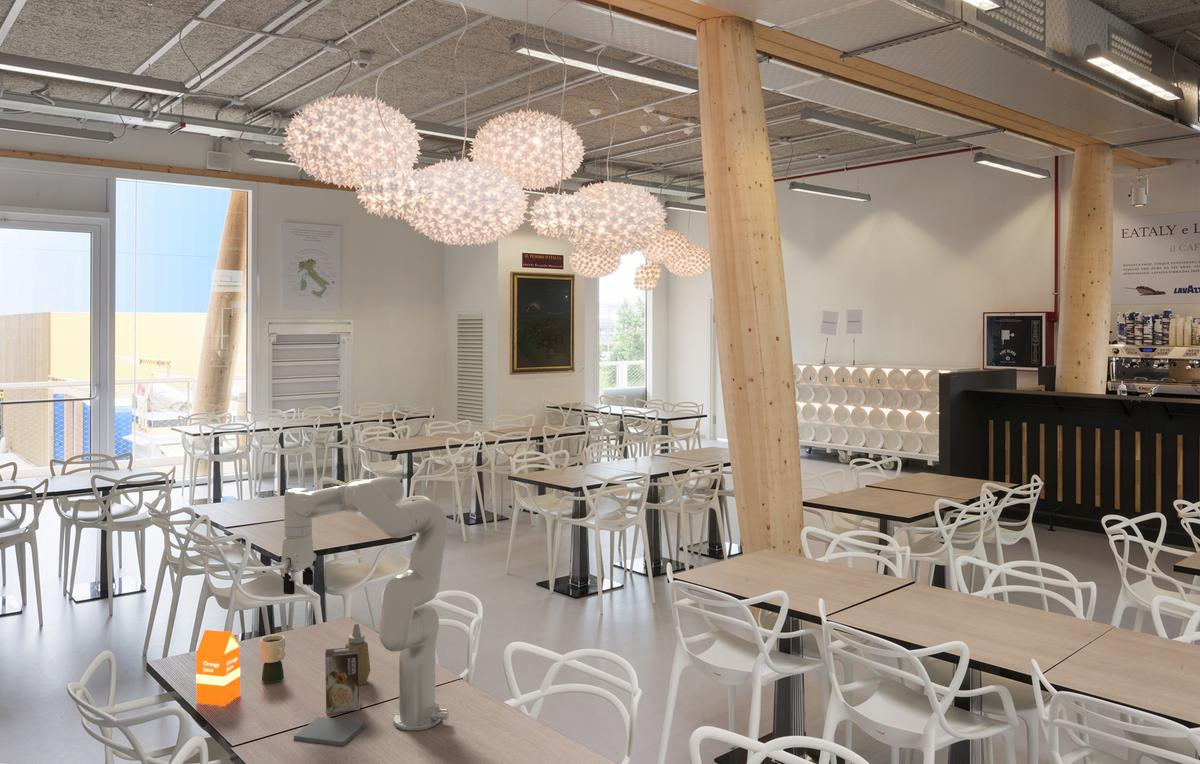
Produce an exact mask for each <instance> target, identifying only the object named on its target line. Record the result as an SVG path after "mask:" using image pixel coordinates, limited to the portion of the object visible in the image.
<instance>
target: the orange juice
mask: <svg viewBox="0 0 1200 764" xmlns="http://www.w3.org/2000/svg"><path fill="white" fill-rule="evenodd" d="M199 642H200V643H199V645H198V649H197V651H196V653H195V656H196V657H195V660H196V663H195V664H196V665H195V668H196V670H195V672H196V673H195V678H196V679H195V682H196V683H195V684H196V704H197V703H203V704H211V705H210V706H213V705H221V706H220V707H222V706H224V707H226V706H227V705H226V704H228V703H229V704H230V702H231V701H232V700H234V699H235V698H237V697H238V698H240V697H241V647H240V645H239V643H238V641H237V639H236V637H235V636H234V634H233V632H232V631H224V630H223V631H222V630H212V629H211V630H210V629H204V631H203V635H202V637H201V640H200V641H199ZM239 696H240V697H239ZM238 698H237V699H238ZM235 700H236V699H235ZM235 700H234V701H235ZM232 702H233V701H232ZM232 702H231V703H232ZM203 704H202V705H203ZM229 704H228V705H229ZM225 705H226V706H225Z"/></svg>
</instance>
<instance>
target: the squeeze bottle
mask: <svg viewBox="0 0 1200 764" xmlns="http://www.w3.org/2000/svg"><path fill="white" fill-rule="evenodd" d="M368 645H369V644H368V642H367V641H365V634H363V633H361V629H360V625H359V623H358V622H356V623H354V625H353V628H352V633H351V634H349V635H348V642H346V643H345V647H344V648H350V647H358V657H359V686H363V685H365V684H366V683H367V681H368V679H369V675H370V673H371V665H370V662H371V661H370V653H369V646H368Z"/></svg>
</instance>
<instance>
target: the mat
mask: <svg viewBox="0 0 1200 764" xmlns="http://www.w3.org/2000/svg"><path fill="white" fill-rule="evenodd" d="M366 726H367V722H366V721H361V720H360V721H359V720H353V719H343V718H334V717H327V716H317V717H316V718H315V719H314V720H313V721H311V722H309V724H307V725H306V726H305V727H304V728H302V729H300V731H298V732H297V733H295V734H294V735H293V740H295V741H301V740H302V741H304V742H310V743H316V742H317V743H318V744H325V745H333V746H339V747H341V746H342V747H343V746H345V745H346V744H348V742H350V740H352V739H353V738H354V737H355V736H356V735H358V734H359V733H360V732H361V731H362V730H363V729H364V728H365V727H366Z"/></svg>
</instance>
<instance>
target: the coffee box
mask: <svg viewBox="0 0 1200 764" xmlns="http://www.w3.org/2000/svg"><path fill="white" fill-rule="evenodd" d="M324 653H325V654H324V655H325V656H324V657H325V658H324V659H325V660H324V662H325V665H324V667H325V713H326V712H334V713H342V712H351V711H359V710H361V707H360V706H361V705H360V704H361V702H360V700H361V699H360V685H359V657H358V647H350V648H345V647H342V648H341V647H339V648H328V649H327V648H326V649H325V652H324ZM340 711H341V712H340Z"/></svg>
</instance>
